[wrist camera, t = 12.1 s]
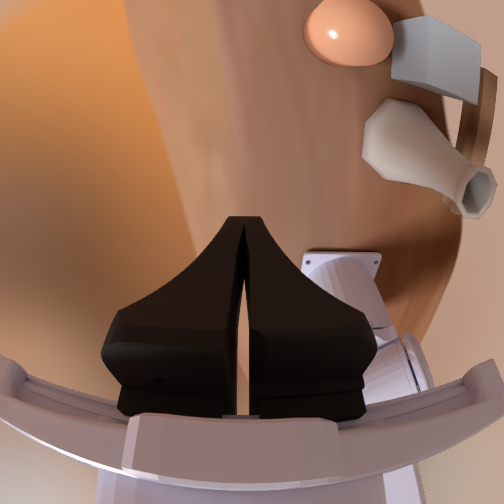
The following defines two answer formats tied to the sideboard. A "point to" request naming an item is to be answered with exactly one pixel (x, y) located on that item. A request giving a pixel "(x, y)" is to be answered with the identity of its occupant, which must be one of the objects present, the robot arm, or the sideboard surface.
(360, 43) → the peach egg shape
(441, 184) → the flask
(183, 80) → the sideboard surface
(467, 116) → the walnut rail
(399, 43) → the slate block
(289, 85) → the sideboard surface
